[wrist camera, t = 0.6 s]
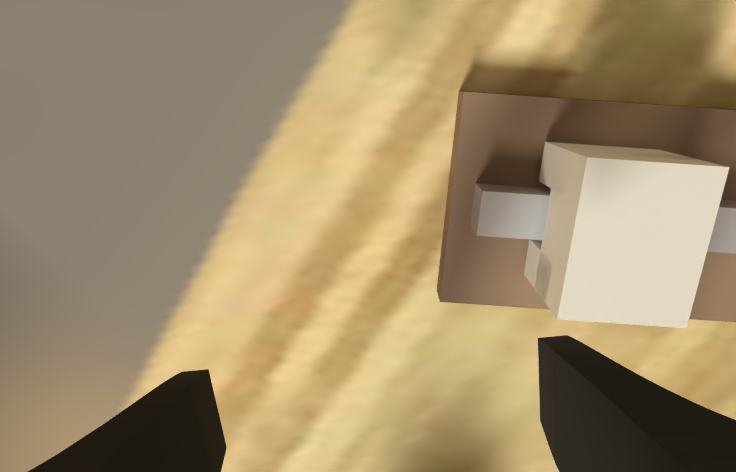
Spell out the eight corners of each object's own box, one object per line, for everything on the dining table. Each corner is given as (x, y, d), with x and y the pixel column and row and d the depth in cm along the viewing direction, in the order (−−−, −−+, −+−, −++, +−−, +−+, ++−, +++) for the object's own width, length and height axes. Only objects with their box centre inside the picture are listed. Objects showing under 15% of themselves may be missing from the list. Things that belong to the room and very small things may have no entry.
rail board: (942, 124, 19) (1081, 134, 15) (869, 319, 22) (974, 371, 18) (459, 91, 19) (478, 93, 16) (436, 290, 22) (449, 335, 18)
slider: (658, 149, 18) (729, 166, 15) (628, 281, 20) (686, 328, 16) (545, 141, 18) (587, 157, 15) (523, 274, 20) (557, 318, 16)
